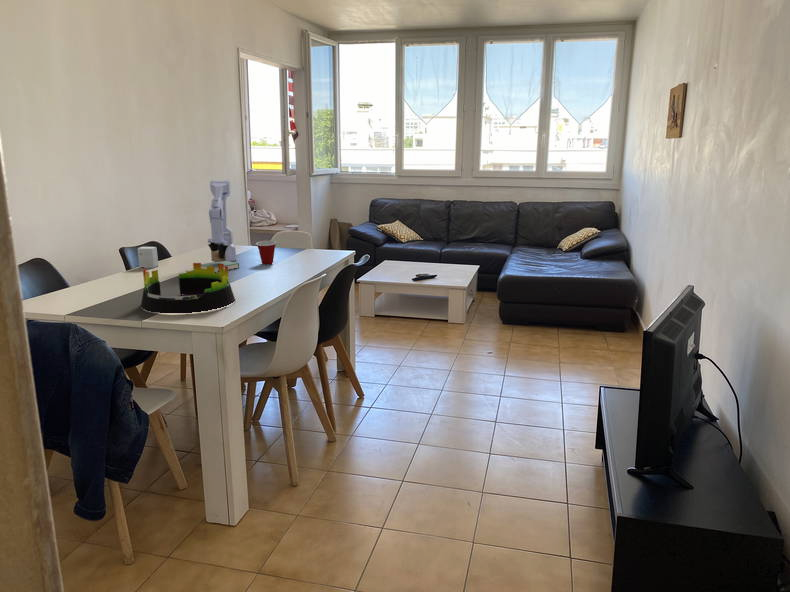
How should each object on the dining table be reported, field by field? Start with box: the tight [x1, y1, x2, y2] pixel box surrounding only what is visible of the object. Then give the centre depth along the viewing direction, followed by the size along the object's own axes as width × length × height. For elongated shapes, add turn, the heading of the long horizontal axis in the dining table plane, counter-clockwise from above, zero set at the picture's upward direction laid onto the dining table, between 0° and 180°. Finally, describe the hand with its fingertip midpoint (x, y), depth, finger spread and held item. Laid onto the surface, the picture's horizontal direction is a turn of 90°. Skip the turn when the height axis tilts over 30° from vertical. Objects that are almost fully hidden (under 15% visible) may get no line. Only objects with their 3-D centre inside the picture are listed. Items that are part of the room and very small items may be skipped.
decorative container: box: [140, 262, 236, 313], centre depth 249 cm, size 37×37×15 cm
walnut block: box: [210, 250, 226, 262], centre depth 318 cm, size 5×5×5 cm
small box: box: [137, 246, 159, 269], centre depth 322 cm, size 8×6×10 cm
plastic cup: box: [255, 240, 277, 265], centre depth 333 cm, size 11×11×12 cm
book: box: [201, 261, 240, 273], centre depth 320 cm, size 16×12×3 cm
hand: (218, 257), depth 319 cm, fingers closed on walnut block, 5 cm apart
